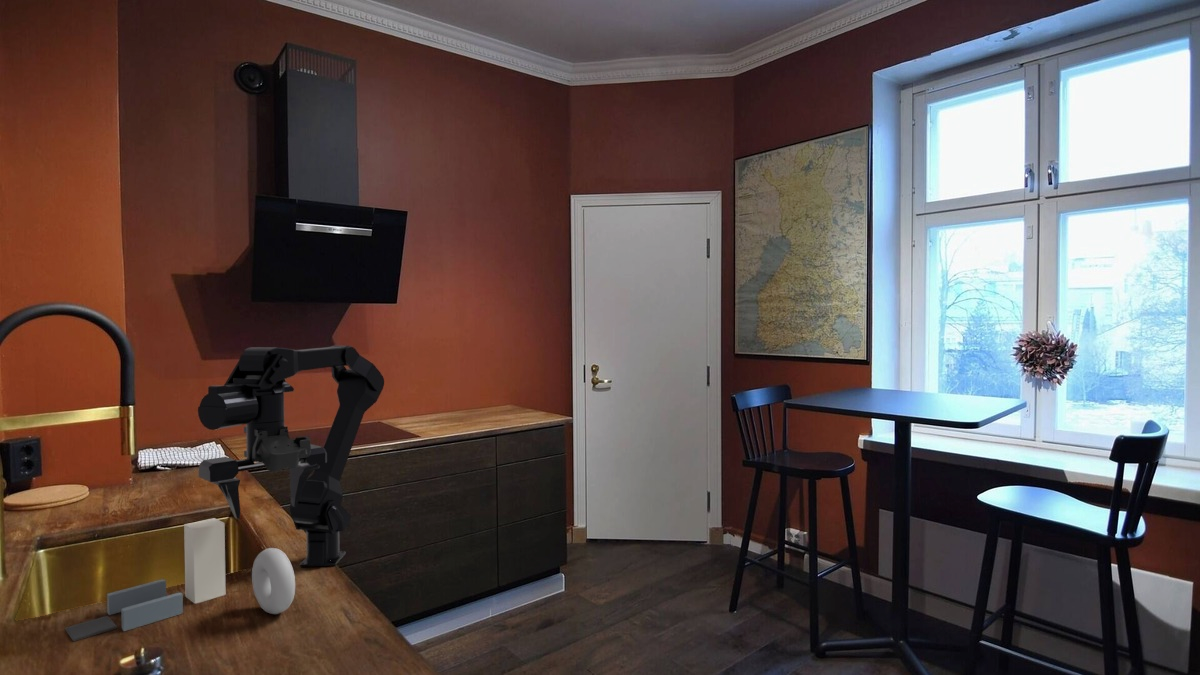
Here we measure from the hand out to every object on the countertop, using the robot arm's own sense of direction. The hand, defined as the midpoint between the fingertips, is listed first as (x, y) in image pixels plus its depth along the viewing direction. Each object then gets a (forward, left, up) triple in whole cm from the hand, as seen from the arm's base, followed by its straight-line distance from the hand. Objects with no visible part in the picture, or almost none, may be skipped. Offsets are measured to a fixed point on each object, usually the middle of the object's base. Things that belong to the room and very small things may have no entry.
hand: (266, 512), depth 106 cm
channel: (+8, -15, -13) cm, 21 cm away
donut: (+10, +5, -13) cm, 17 cm away
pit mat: (+13, -20, -13) cm, 27 cm away
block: (+2, -9, -13) cm, 16 cm away
